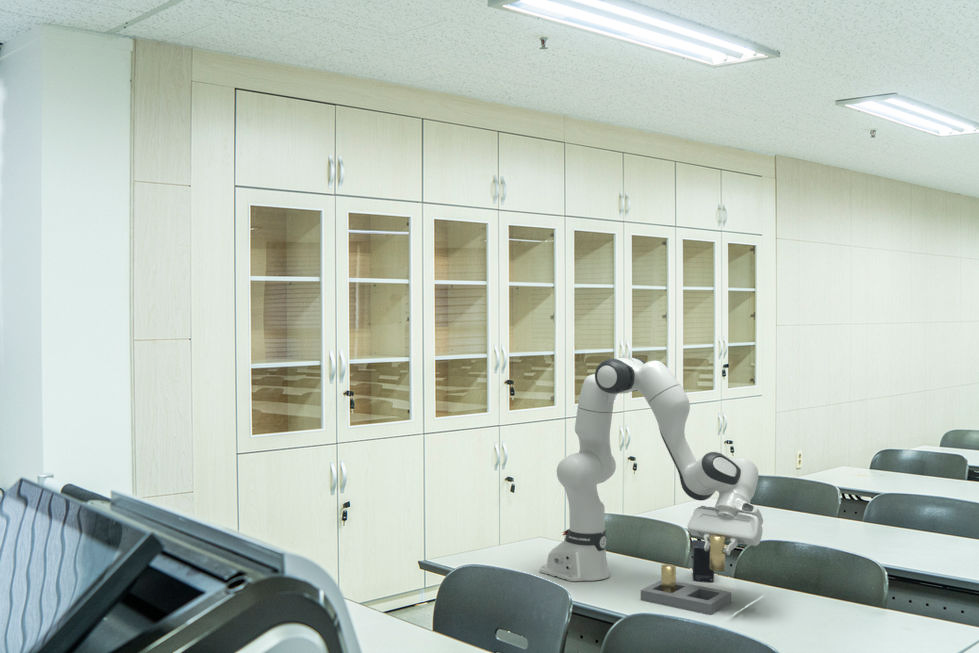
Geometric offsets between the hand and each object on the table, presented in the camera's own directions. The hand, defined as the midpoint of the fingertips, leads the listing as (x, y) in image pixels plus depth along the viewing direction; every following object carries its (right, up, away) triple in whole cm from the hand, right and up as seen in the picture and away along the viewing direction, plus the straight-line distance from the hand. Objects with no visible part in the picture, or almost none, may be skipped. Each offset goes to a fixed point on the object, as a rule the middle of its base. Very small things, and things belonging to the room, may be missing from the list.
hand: (716, 551), depth 234 cm
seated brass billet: (-11, -16, +12) cm, 22 cm away
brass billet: (0, -5, 0) cm, 5 cm away
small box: (+5, -17, +35) cm, 39 cm away
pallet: (-6, -17, +8) cm, 20 cm away
